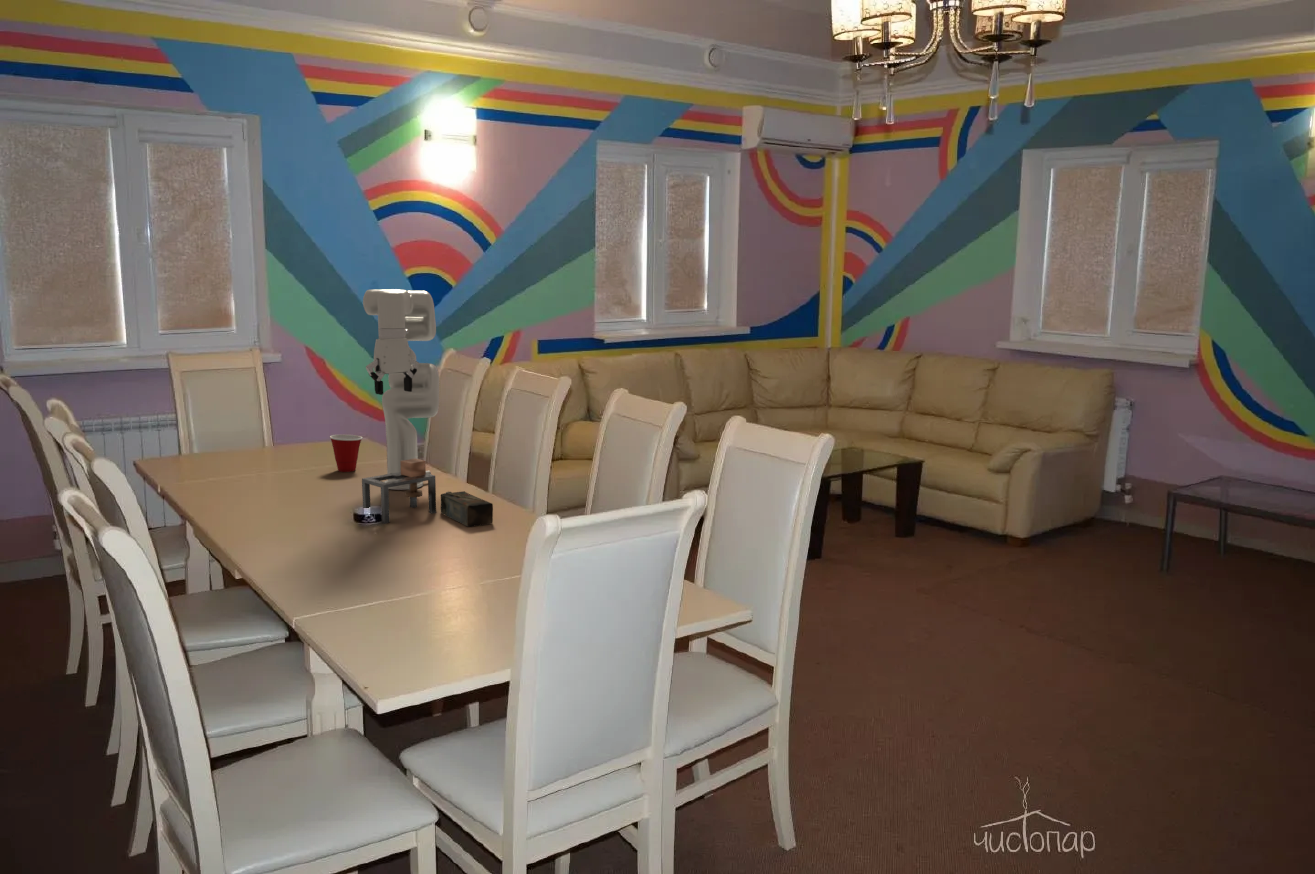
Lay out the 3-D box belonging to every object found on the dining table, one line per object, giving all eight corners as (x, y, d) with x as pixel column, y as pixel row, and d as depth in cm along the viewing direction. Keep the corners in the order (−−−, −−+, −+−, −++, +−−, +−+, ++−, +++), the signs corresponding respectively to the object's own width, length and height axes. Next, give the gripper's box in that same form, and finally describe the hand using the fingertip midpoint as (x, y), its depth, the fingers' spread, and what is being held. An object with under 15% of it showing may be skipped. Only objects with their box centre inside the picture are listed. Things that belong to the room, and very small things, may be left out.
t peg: (416, 492, 296) (415, 458, 294) (426, 495, 292) (425, 460, 290) (401, 495, 292) (400, 460, 290) (411, 498, 289) (410, 463, 287)
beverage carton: (465, 510, 297) (465, 488, 296) (494, 524, 281) (494, 501, 280) (439, 513, 292) (439, 491, 291) (468, 528, 277) (467, 505, 276)
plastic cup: (368, 471, 346) (367, 436, 344) (337, 474, 339) (336, 439, 337) (356, 465, 354) (355, 431, 352) (326, 469, 348) (324, 434, 345)
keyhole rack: (414, 506, 299) (413, 469, 297) (436, 512, 292) (435, 475, 290) (363, 516, 287) (361, 478, 285) (384, 523, 280) (383, 484, 278)
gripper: (409, 332, 302) (411, 388, 305) (358, 334, 290) (360, 394, 293) (424, 333, 297) (426, 391, 300) (372, 336, 285) (375, 396, 288)
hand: (393, 392), depth 297 cm, fingers open, 9 cm apart
